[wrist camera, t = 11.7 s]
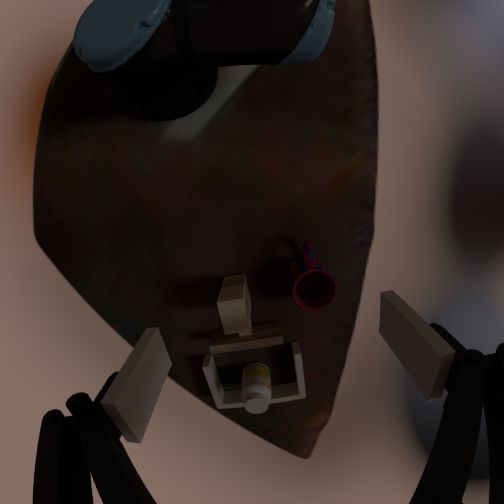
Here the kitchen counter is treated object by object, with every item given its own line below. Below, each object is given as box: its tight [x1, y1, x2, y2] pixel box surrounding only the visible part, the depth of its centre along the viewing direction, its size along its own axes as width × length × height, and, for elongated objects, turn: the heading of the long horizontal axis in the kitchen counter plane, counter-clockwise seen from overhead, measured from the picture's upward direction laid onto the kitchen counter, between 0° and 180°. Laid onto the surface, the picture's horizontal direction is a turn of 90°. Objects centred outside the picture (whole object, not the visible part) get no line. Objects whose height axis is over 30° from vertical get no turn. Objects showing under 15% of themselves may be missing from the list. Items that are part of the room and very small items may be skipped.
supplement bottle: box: [241, 363, 271, 414], centre depth 46 cm, size 5×5×10 cm
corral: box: [202, 341, 306, 409], centre depth 48 cm, size 11×17×4 cm, turn 100°
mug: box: [287, 241, 338, 312], centre depth 42 cm, size 7×10×7 cm
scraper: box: [209, 274, 284, 354], centre depth 42 cm, size 11×12×10 cm
